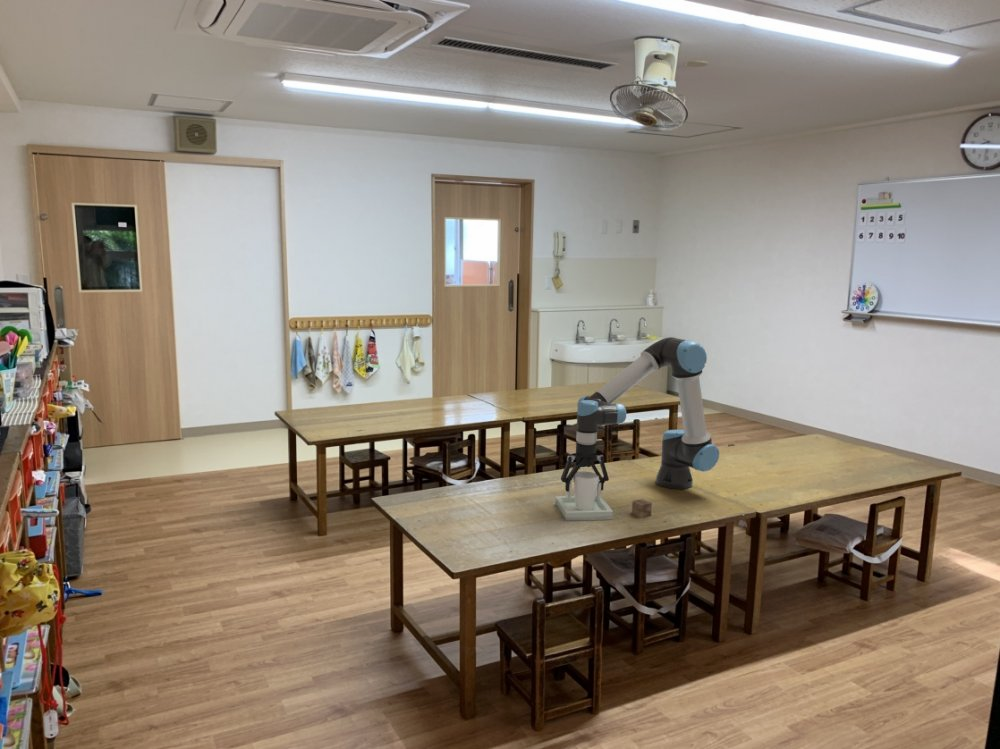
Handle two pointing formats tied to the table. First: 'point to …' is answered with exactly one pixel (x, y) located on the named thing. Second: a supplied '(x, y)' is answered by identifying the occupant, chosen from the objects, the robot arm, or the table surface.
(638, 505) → the walnut block
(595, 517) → the tray
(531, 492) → the table surface
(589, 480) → the foam cup
